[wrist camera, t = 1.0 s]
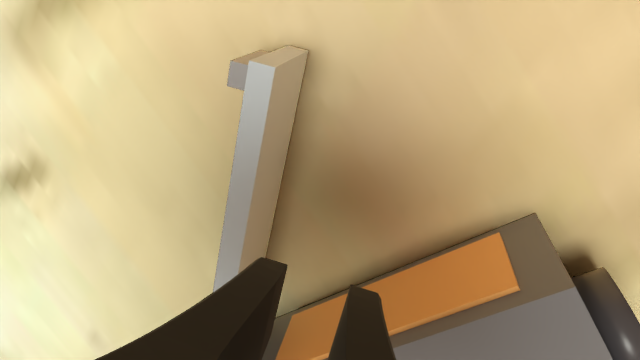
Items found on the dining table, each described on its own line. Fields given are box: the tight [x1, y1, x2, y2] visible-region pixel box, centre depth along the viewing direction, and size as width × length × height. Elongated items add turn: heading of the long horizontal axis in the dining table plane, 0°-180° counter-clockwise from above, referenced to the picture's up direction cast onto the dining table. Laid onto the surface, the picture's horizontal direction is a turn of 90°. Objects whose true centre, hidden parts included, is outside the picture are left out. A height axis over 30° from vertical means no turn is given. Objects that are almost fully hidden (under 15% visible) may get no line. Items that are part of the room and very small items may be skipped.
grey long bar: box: [213, 45, 308, 292], centre depth 18 cm, size 14×2×4 cm, turn 167°
